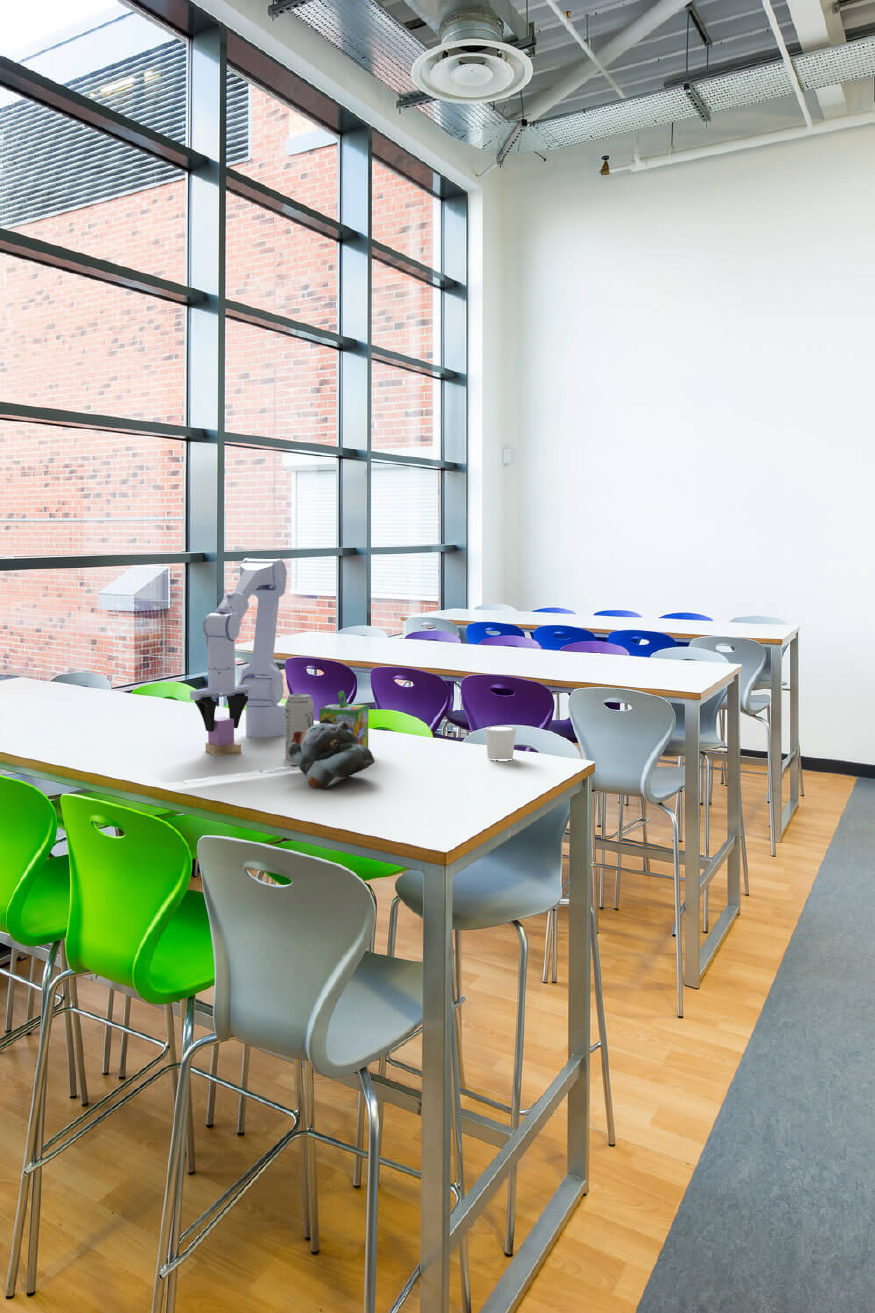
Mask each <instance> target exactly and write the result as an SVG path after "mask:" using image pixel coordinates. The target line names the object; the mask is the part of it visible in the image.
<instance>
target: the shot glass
mask: <svg viewBox="0 0 875 1313" xmlns="http://www.w3.org/2000/svg"><path fill="white" fill-rule="evenodd" d="M516 733H517V729H516V728H515V727H511V726H507V725H506V726H505V725H494V726H493V725H492V726H486V727H485V738H486V739H485V740H486V741H485V742H486V753H487V754H486V755H487V756H486V757H487V759H488V758H489V759H512V758H513V757H514V749H515V742H516V741H515V740H516ZM512 760H513V759H512Z"/></svg>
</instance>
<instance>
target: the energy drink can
mask: <svg viewBox="0 0 875 1313" xmlns="http://www.w3.org/2000/svg"><path fill="white" fill-rule="evenodd" d="M284 706H285V736H284V738H285V741H284V743H285V744H284V745H285V754H284V755H285V760H287V761H291V762H294V761H293V760H292V759H291V757H290V755H289V754H288V751H287V747H288V746H289V744H290V743H291V742H292V739H293V733H294V732H297V731H300V732H305V731H306V730H307V729H308V728H310V727H312V726H313V725H315V723H314V722H315V719H314V718H315V717H314V716H315V703H314V701H313V698H312V695H311V694H307V693H293V694H292V693H291V694H288V698H287V700H286V701H285V705H284ZM289 767H295V768H299V767H298V766H297V765H296V764H291V765H289Z"/></svg>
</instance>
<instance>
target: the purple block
mask: <svg viewBox="0 0 875 1313" xmlns="http://www.w3.org/2000/svg"><path fill="white" fill-rule="evenodd" d="M207 735H208V738H207V740H208V743H209V744H213V745H217V746H222V745H228V744H234V741H235V728H234V719H231V718H229V717H225V716H220V717H219V716H218V717H214V732H209V731H207Z"/></svg>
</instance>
